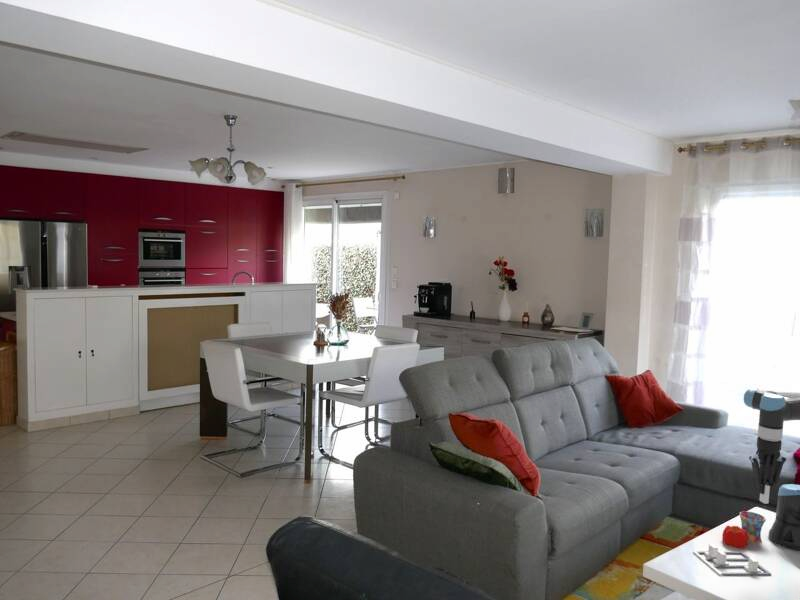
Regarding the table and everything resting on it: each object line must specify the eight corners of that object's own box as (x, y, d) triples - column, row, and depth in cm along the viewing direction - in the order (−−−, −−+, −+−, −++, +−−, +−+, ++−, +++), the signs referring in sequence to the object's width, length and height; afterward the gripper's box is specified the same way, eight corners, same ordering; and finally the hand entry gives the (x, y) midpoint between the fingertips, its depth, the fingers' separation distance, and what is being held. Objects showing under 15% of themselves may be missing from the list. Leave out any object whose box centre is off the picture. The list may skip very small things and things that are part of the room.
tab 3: (754, 568, 228) (755, 557, 228) (760, 573, 225) (762, 562, 224) (744, 568, 227) (745, 557, 227) (750, 573, 224) (751, 562, 224)
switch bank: (742, 556, 240) (742, 551, 239) (771, 579, 224) (772, 573, 224) (692, 556, 237) (692, 551, 237) (718, 579, 221) (719, 573, 221)
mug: (756, 549, 247) (759, 523, 246) (732, 539, 254) (734, 513, 253) (770, 542, 254) (773, 516, 253) (746, 533, 261) (749, 508, 260)
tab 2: (723, 561, 232) (724, 550, 231) (728, 566, 228) (730, 555, 228) (712, 561, 231) (714, 550, 231) (718, 566, 228) (719, 555, 228)
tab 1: (714, 554, 237) (715, 543, 236) (720, 559, 233) (721, 548, 233) (704, 554, 236) (705, 543, 236) (709, 559, 233) (711, 548, 233)
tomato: (733, 540, 254) (735, 522, 253) (752, 551, 245) (754, 532, 245) (715, 543, 250) (717, 524, 250) (734, 553, 242) (736, 534, 241)
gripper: (778, 434, 231) (773, 497, 233) (745, 435, 229) (740, 498, 231) (794, 441, 223) (788, 506, 226) (759, 441, 222) (754, 507, 224)
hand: (763, 502), depth 228 cm, fingers closed
